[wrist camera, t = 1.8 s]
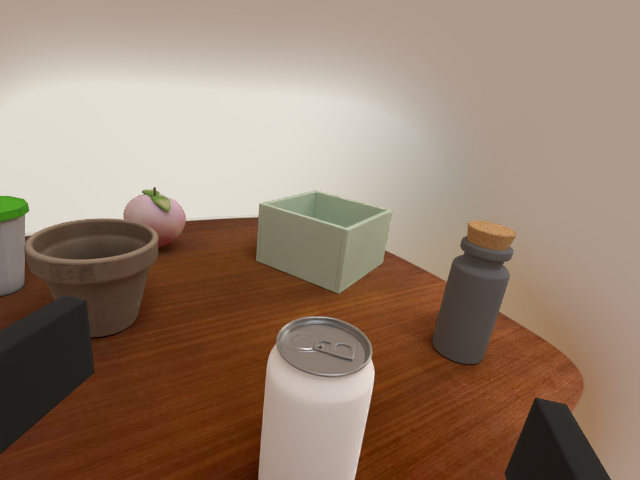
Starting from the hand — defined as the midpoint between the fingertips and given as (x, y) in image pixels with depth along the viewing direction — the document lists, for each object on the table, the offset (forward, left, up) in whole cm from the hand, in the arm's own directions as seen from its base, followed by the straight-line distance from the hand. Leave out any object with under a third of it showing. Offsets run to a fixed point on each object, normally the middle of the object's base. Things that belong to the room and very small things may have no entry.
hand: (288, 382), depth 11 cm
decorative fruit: (+46, -27, -17) cm, 56 cm away
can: (+4, -9, -17) cm, 20 cm away
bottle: (-1, -34, -17) cm, 38 cm away
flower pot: (+32, -11, -17) cm, 38 cm away
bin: (+24, -43, -17) cm, 52 cm away
